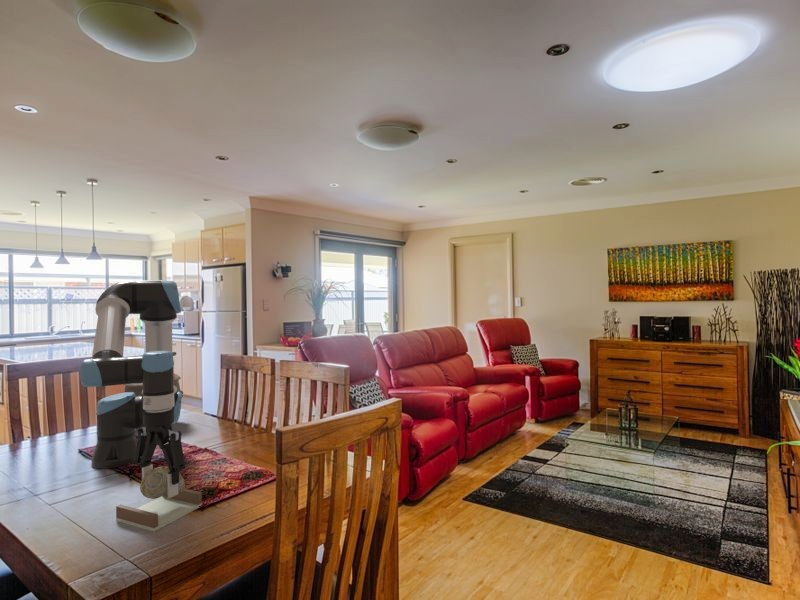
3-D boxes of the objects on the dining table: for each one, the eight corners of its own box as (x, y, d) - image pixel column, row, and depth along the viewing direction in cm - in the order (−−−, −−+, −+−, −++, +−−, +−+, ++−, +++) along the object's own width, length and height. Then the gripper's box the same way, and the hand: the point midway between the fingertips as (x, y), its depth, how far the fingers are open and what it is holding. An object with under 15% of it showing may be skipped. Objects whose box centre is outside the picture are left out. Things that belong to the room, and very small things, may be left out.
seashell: (189, 480, 132) (185, 454, 128) (179, 509, 124) (174, 483, 119) (151, 481, 131) (146, 455, 126) (138, 510, 122) (132, 484, 118)
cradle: (116, 520, 121) (116, 506, 121) (166, 497, 135) (165, 484, 135) (154, 531, 115) (153, 516, 115) (201, 505, 129) (201, 492, 129)
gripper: (118, 408, 125) (119, 491, 126) (176, 416, 117) (177, 505, 117) (143, 402, 132) (144, 481, 133) (199, 409, 124) (201, 493, 124)
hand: (160, 492), depth 125 cm, fingers closed on seashell, 9 cm apart
